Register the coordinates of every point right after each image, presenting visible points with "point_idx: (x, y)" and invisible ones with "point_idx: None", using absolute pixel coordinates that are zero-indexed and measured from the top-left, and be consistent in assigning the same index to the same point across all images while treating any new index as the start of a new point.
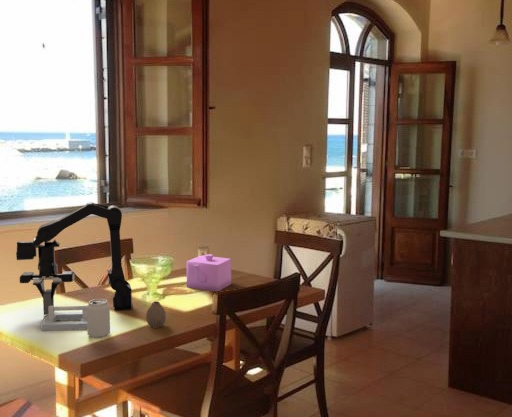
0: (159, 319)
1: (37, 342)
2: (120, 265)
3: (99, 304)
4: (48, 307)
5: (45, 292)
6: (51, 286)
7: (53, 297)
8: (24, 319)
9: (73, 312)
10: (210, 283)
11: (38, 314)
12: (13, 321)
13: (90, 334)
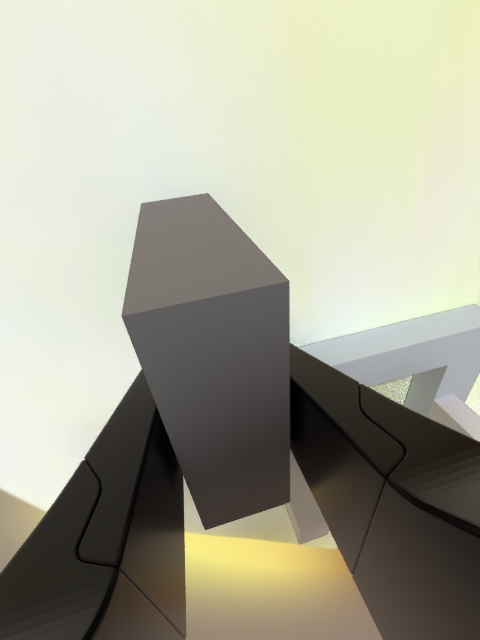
0: None
1: (266, 537)
2: None
3: None
4: (298, 540)
5: (204, 474)
6: (375, 620)
7: (236, 225)
8: (71, 410)
9: (393, 356)
10: None
11: (112, 309)
12: (19, 448)
13: None
